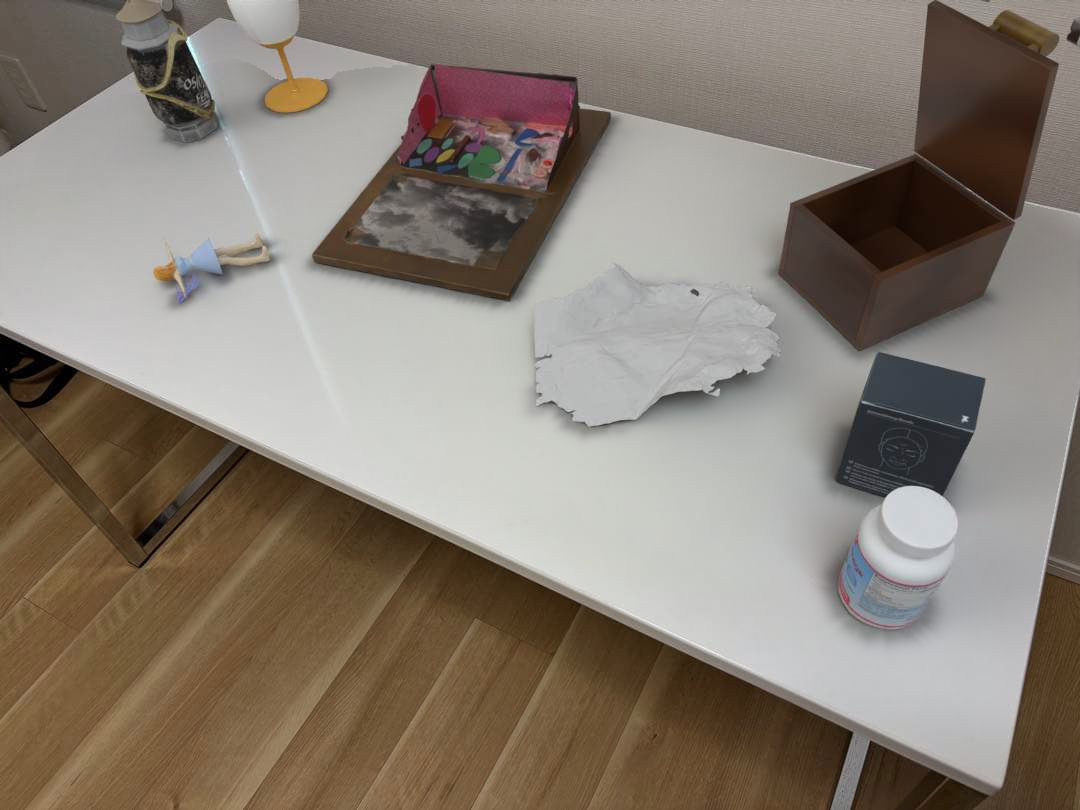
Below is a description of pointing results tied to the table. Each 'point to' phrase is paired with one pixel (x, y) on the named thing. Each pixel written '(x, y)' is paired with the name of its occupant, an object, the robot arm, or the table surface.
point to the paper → (644, 344)
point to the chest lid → (985, 101)
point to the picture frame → (470, 181)
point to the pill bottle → (899, 558)
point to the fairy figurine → (207, 262)
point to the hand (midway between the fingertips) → (1031, 19)
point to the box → (910, 426)
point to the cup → (278, 49)
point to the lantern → (167, 71)
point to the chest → (891, 249)
